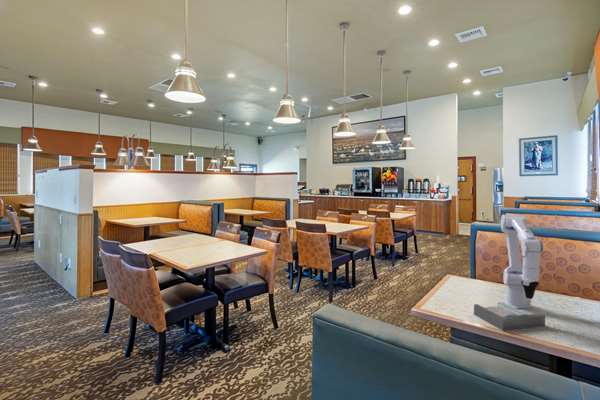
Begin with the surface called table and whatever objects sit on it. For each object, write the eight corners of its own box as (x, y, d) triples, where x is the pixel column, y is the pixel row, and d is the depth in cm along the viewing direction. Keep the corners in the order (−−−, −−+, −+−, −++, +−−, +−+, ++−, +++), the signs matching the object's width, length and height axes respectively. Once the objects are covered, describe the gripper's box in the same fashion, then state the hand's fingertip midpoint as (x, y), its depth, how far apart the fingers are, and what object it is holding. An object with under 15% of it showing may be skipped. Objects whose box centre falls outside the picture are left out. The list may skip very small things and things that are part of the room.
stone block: (501, 330, 127) (520, 323, 130) (499, 319, 127) (518, 312, 129) (478, 318, 139) (496, 312, 141) (476, 308, 139) (494, 302, 141)
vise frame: (512, 310, 142) (512, 301, 142) (544, 325, 127) (545, 315, 127) (473, 314, 138) (474, 304, 138) (502, 330, 123) (503, 319, 123)
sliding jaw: (500, 311, 141) (501, 302, 141) (526, 324, 128) (527, 314, 128) (496, 311, 141) (497, 302, 140) (522, 324, 128) (522, 314, 128)
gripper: (524, 262, 140) (522, 291, 140) (514, 268, 130) (513, 299, 131) (543, 265, 134) (542, 295, 135) (535, 271, 125) (533, 304, 126)
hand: (529, 298), depth 133 cm, fingers closed
